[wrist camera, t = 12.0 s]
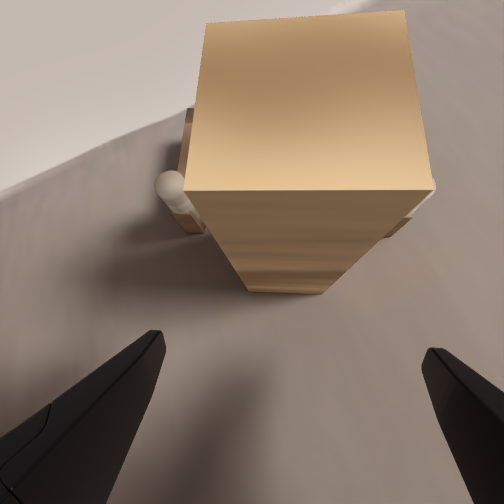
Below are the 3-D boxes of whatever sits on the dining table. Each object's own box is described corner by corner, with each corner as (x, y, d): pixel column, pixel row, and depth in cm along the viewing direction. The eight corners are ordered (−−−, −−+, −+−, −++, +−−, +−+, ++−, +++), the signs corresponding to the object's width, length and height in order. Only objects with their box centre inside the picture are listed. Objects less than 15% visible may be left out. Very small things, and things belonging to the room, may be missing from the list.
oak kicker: (321, 294, 17) (433, 189, 5) (249, 291, 17) (183, 190, 5) (320, 226, 18) (404, 10, 6) (252, 225, 18) (206, 23, 6)
